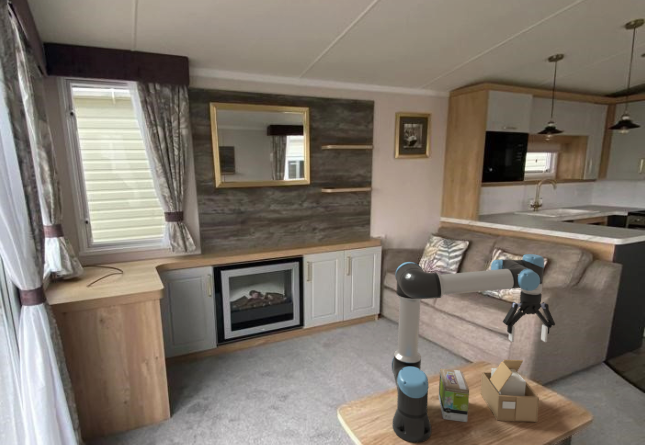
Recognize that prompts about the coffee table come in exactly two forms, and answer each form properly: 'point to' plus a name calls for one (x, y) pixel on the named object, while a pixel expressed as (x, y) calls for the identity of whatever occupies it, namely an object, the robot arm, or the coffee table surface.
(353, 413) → the coffee table surface
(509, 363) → the flap far
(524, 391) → the carton
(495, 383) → the flap left
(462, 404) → the tea box
